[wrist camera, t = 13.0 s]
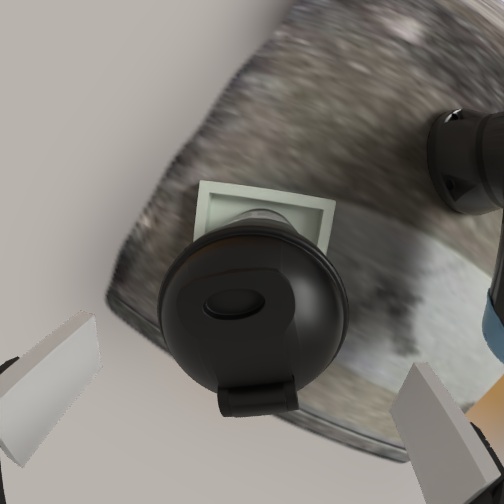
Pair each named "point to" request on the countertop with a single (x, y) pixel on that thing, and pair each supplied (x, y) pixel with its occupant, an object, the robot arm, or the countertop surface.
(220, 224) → the tray
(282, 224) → the water bottle
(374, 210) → the countertop surface
